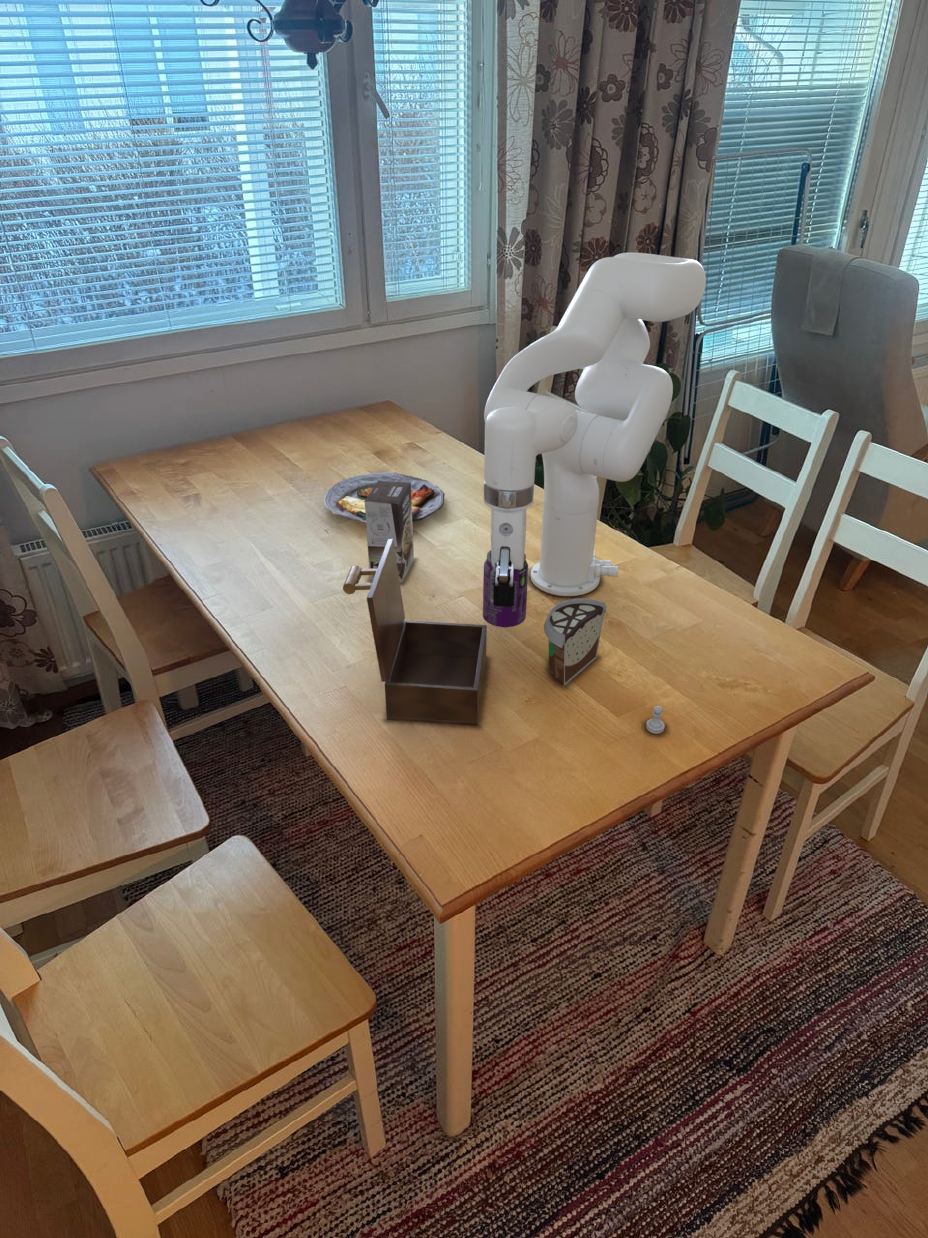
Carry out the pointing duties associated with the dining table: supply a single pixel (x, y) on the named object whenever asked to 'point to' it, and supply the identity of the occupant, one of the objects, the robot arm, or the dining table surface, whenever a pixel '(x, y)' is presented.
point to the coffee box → (390, 524)
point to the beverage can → (517, 612)
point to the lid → (382, 605)
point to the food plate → (355, 490)
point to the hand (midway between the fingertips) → (505, 591)
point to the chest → (437, 673)
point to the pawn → (655, 721)
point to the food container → (573, 636)
